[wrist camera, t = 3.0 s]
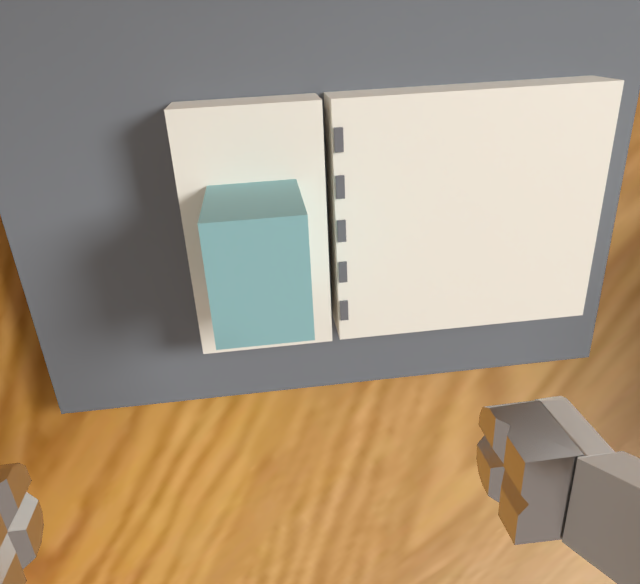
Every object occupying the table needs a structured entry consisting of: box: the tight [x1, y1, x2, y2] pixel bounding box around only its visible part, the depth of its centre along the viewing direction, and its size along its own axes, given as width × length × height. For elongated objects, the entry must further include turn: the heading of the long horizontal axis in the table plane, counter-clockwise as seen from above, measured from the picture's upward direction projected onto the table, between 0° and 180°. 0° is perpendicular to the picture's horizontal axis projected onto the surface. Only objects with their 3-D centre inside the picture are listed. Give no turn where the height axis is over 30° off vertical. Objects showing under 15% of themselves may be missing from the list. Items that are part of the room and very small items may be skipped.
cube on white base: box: [164, 93, 332, 354], centre depth 19 cm, size 9×5×6 cm, turn 3°
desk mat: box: [0, 0, 640, 414], centre depth 23 cm, size 16×24×2 cm, turn 93°
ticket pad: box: [324, 75, 624, 340], centre depth 21 cm, size 9×10×2 cm
